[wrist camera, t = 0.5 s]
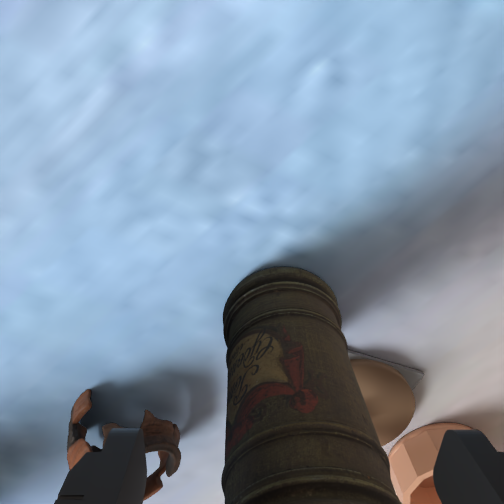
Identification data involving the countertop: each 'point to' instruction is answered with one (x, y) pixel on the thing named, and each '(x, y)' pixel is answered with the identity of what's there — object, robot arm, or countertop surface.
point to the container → (295, 399)
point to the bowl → (418, 463)
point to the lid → (385, 397)
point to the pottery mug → (154, 430)
